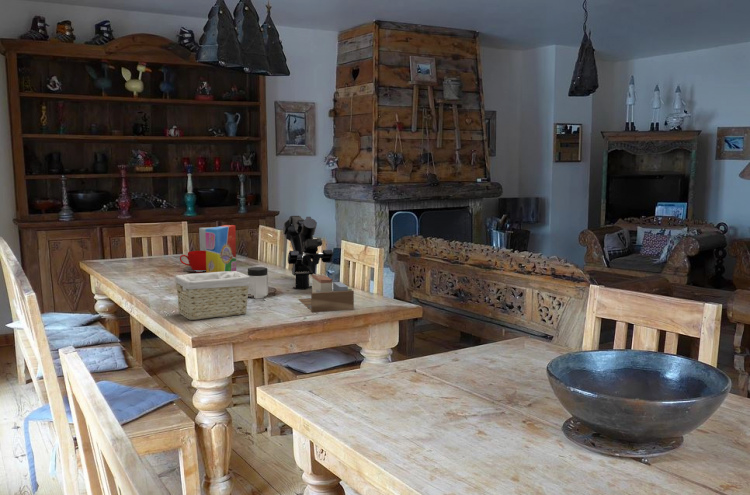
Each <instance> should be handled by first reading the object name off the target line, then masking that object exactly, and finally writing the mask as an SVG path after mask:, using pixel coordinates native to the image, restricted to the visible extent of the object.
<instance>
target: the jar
mask: <svg viewBox="0 0 750 495" xmlns="http://www.w3.org/2000/svg"><path fill="white" fill-rule="evenodd" d="M247 275H248V276H249V277H250V285H249V288H248V294H251V295H254V298H255V300H258V299H259V300H260V299H266V296H267V295H269V275H268V268H267V267H265V266H254V267H253V266H252V267H248V268H247ZM254 298H253V299H254Z"/></svg>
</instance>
